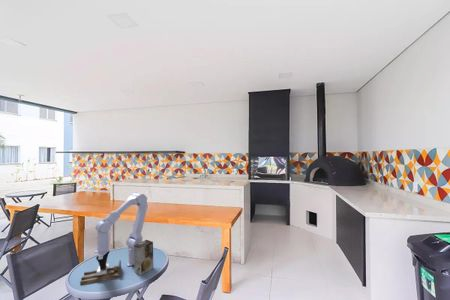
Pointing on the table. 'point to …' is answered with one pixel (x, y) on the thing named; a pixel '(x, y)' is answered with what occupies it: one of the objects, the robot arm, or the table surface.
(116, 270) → the nut press
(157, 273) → the table surface
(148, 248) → the coffee box
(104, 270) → the press carriage
